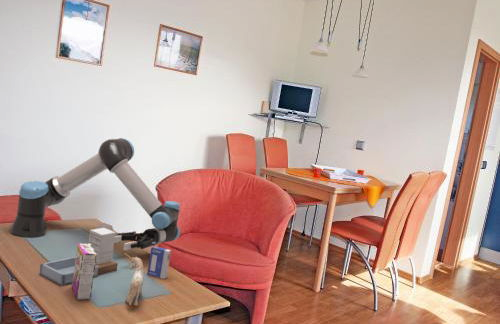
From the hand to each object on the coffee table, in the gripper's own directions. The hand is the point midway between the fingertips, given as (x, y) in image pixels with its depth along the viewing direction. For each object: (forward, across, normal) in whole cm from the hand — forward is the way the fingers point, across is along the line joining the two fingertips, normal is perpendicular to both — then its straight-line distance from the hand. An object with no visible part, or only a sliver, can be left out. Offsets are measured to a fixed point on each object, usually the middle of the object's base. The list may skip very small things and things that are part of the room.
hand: (116, 243), depth 191 cm
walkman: (-6, -19, -9) cm, 22 cm away
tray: (+22, 0, -9) cm, 24 cm away
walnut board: (+9, 0, -9) cm, 13 cm away
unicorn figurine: (+19, -27, -9) cm, 34 cm away
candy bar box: (+29, -15, -9) cm, 34 cm away
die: (-18, +27, -9) cm, 34 cm away
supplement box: (+8, 0, -6) cm, 10 cm away
